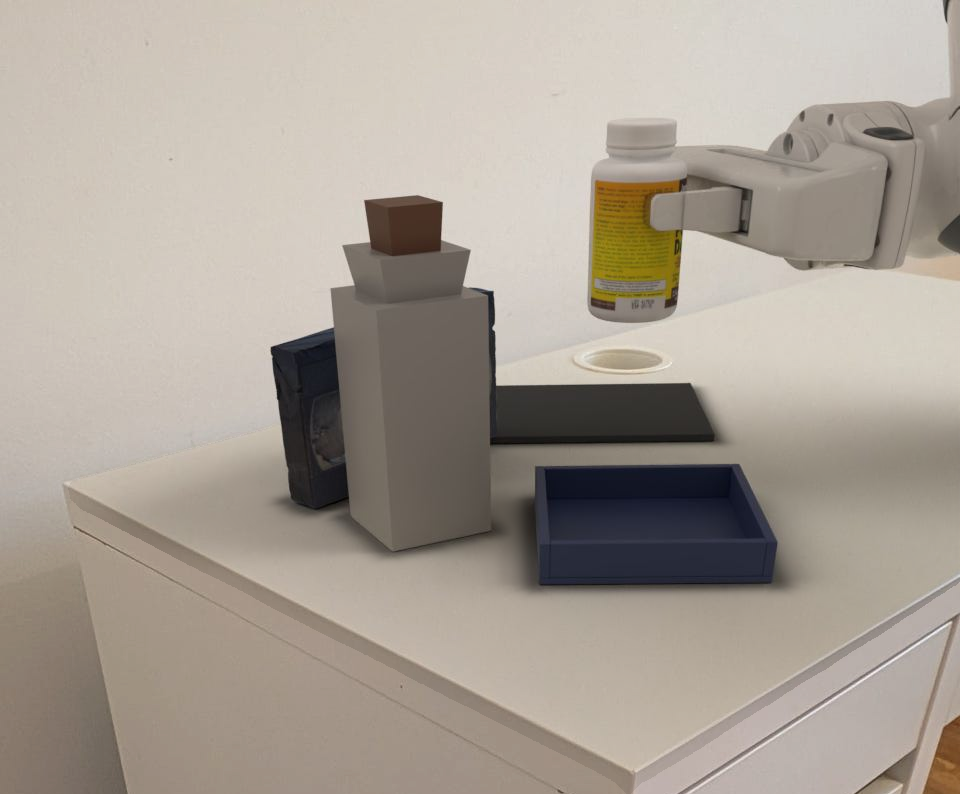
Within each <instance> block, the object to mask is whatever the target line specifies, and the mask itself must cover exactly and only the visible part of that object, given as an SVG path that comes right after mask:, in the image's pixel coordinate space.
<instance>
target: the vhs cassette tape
mask: <svg viewBox="0 0 960 794" xmlns="http://www.w3.org/2000/svg"><path fill="white" fill-rule="evenodd" d="M468 288H470V289H472V290H475V291H477V292H480V293H483V294H485V295H488V324H489V403H490V438H492V437H495V435H496V432H497V408H496V406H497V394H496V386H497V375H496V374H497V356H496V355H497V354H496V351H497V346H496V339H497V338H496V331H495V330H494V326H495V325H496V306H495V305H496V304H495V296H494V295H495V291H494V290H488V289H484V288H481V287H471V286H470V287H468ZM270 355H271V363H272V374H273V379H274V385H275V393H276V401H277V407H278V415H279V421H280V427H281V437H282V444H283V449H284V458H285V464H286V468H287V482H288V490H289V493H290V499H291V500H292V501H293V502H295V503H296V504H299V505H304V506H307V507H310V508H312V509H319V508H323V507H325V506H327V505H329V504H332V503H335V502H337V501H341V500H344V499H346V498H349V492H348V481H347V469H346V458H345V447H344V436H343V424H342V413H341V402H340V390H339V379H338V368H337V357H336V345H335V334H334V326H333V327H329V328H327V329H324V330H320V331H317V332H314V333H311V334H307V335H305V336H302V337H299V338H296V339H292V340H289V341H286V342H282V343H279V344H275V345H272V346H270Z"/></svg>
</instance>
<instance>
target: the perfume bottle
mask: <svg viewBox="0 0 960 794" xmlns="http://www.w3.org/2000/svg"><path fill="white" fill-rule="evenodd" d="M363 203H364V209H365V216H366V217H365V218H366V223H367V229H368V236H369V241H367V242H358V243H349V244H348V243H347V244H342V246H341V247H342V250H343V253H344V256H345V260H346V262H347V266H348V269H349V272H350V275H351V278H352V281H353V284H352V285H345V286H344V285H343V286H337V287H330V298H331V311H332V322H333V327H334V334H335V345H336V357H337V368H338V379H339V390H340V402H341V413H342V424H343V436H344V447H345V458H346V469H347V481H348V492H349V496H348V502H349V512H350V517H351V518H352V519H353V520H354V521H355V522H356V523H358V525H360V526H361V527H363V528H364V529H365V530H366V531H367V532H369V534H371V535H372V536H373V537H374V538H375V539H376V540H378V541H379V542H380V543H381V544H383V545H384V546H385V547H387V548H388V549H389V550H390V551H391V552H397V551H404V550H407V549H412V548H416V547H422V546H427V545H430V544H431V545H432V544H436V543H440V542H445V541H451V540H454V539H458V538H459V539H460V538H463V537H470V536H473V535H478V534H483V533H486V532H487V533H488V532H491V531H492V497H491V495H492V489H491V487H492V486H491V484H492V483H491V443H490V403H489V324H488V295H485V294H483V293H480V292H477V291H475V290H472V289H470V288H469V287H468V286H464V283H465V278H466V275H467V269H468V265H469V260H470V256H471V251H472V250H471V249H470V248H466V247H463V246H461V245H459V244H455V243H452V242H448V241H445V240H443V239H442V233H443V232H442V230H443V210H444V209H443V208H444V202H443V201H441V200H438V199H437V200H436V199H432V198H430V197H427V196H426V197H425V196H422V195H418V194H416V195H406V196H394V197H392V196H391V197H384V198H383V197H381V198H373V199H372V198H371V199H364V200H363Z"/></svg>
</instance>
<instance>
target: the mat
mask: <svg viewBox="0 0 960 794" xmlns="http://www.w3.org/2000/svg"><path fill="white" fill-rule="evenodd" d="M496 394H497V406H496V408H497V432H496V435H495V437H492V438H490V444H550V443H551V444H555V443H557V444H558V443H559V444H560V443H564V444H565V443H632V442H633V443H637V442H642V443H644V442H648V443H649V442H713V441H715V437H716V435H715V432H714V430H713V428H712V426H711V423H710V421H709V420H708V417H707V415H706V413H705V410H704V409H703V407H702V404H701V402H700V400H699V398H698V396H697V394H696V392H695V389H694V387H693V385H692V383H691V382H667V383H665V382H661V383H660V382H658V383H657V382H656V383H651V382H650V383H590V384H589V383H585V384H584V383H581V384H519V385H518V384H515V385H514V384H513V385H509V384H508V385H507V384H506V385H505V384H504V385H496Z"/></svg>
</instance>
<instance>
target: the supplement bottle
mask: <svg viewBox="0 0 960 794" xmlns="http://www.w3.org/2000/svg"><path fill="white" fill-rule="evenodd" d="M677 129H678V121H677V120H676V119H674V118H669V117H630V118H617V119H612V120H609V121H607V124H606V141H605V145H606V147H605V153H606V154H607V155H608V158H604V159H600V160H598V161H597V162H596V163H595V164H594V165H593V166H592V169H591V174H590V175H591V176H590V200H589V201H590V202H589V228H588V229H589V231H588V233H589V234H588V263H587V265H588V269H587V297H586V298H587V302H586V303H587V310H588V312H589V313H590V315H592V316H593V317H595V318H596V319H598V320H602V321H604V322H605V321H606V322H610V323H619V324H620V323H621V324H643V323H651V322H653V323H654V322H658V321H663V320H665V319H667V318H669V317H671V316H672V315H673V314H674V313H675V312H676V310H677V308H678V300H679V290H680V275H681V263H682V248H683V236H684V230H669V231H657V230H654V229H651V228H649V227H647V226H646V225H645V224H644V222H643V214H644V199H645V197H646V196H647V194H649V193H650V192H662V191H677V192H683V191H686V185H687V166H686V164H685V163H684V162H683V161H682V160H680V159H678V158H673V157H671V155H672V153H673V152H674V151H675V150H676V144H677V142H678V141H677Z"/></svg>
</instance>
